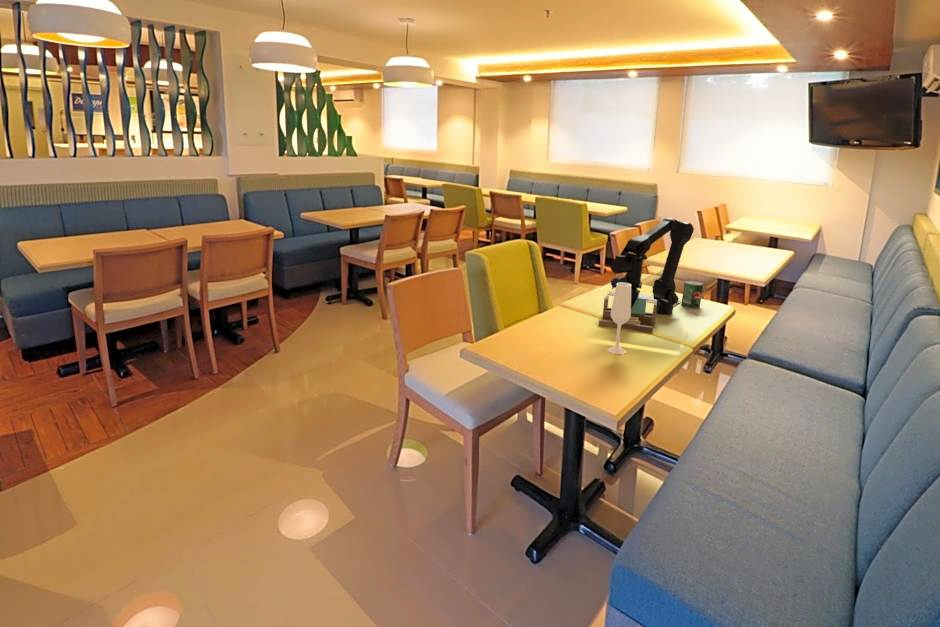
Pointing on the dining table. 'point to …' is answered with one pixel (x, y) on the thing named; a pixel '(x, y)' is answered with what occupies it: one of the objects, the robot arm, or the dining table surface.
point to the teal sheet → (639, 306)
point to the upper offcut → (633, 320)
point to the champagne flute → (620, 312)
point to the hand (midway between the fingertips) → (629, 308)
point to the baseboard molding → (649, 297)
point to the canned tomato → (692, 294)
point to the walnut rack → (646, 319)
